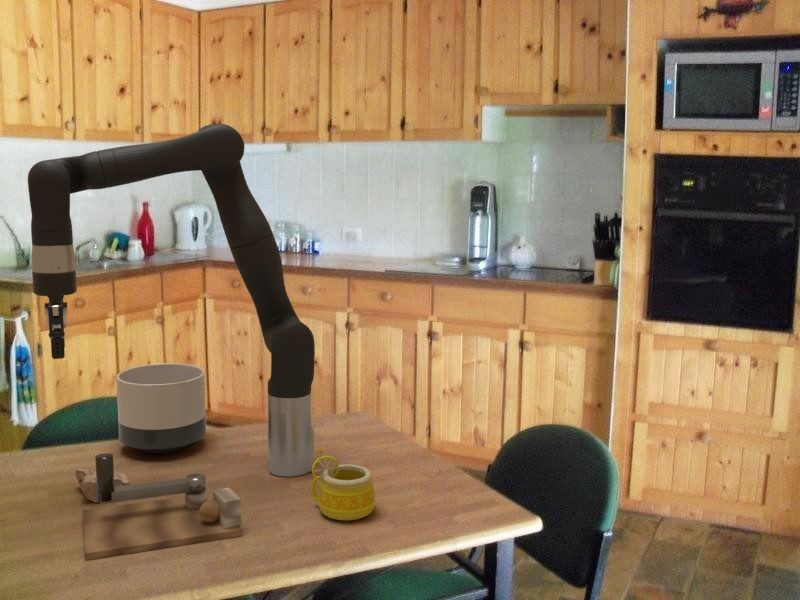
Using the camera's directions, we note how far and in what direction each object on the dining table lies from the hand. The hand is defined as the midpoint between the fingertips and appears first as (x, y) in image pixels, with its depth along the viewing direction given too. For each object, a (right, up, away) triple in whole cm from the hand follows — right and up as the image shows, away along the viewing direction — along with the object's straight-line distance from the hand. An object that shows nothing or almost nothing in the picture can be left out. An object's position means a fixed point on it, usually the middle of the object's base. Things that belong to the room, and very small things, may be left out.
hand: (58, 353), depth 154 cm
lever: (+19, -26, -4) cm, 32 cm away
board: (+21, -31, -6) cm, 38 cm away
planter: (+10, -24, +34) cm, 43 cm away
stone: (+5, -29, +7) cm, 30 cm away
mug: (+54, -31, +2) cm, 62 cm away
